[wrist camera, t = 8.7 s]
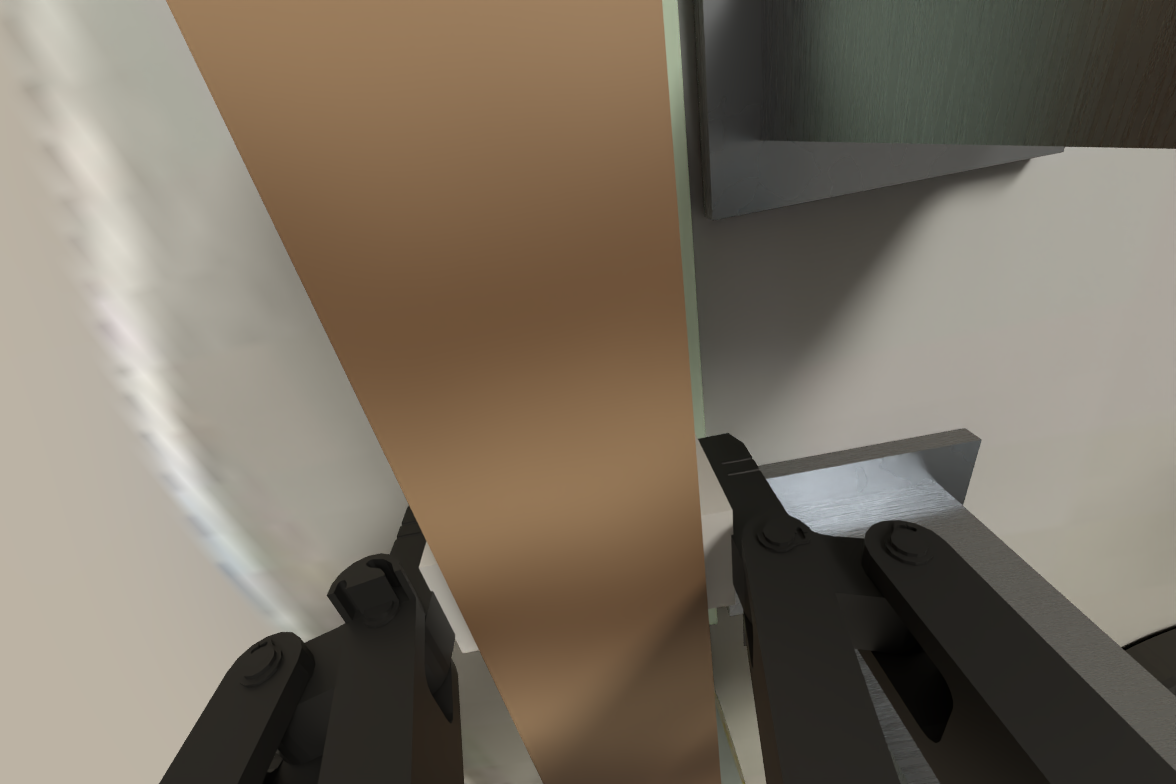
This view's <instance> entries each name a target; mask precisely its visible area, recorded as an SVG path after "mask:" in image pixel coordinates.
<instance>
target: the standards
mask: <svg viewBox="0 0 1176 784" xmlns="http://www.w3.org/2000/svg"><path fill="white" fill-rule="evenodd" d="M693 1H694V20H695V40H696V59H697V79H698V98H699V118H700V137H701V157H702V176H703V196H704V215H705V217H707V218H709V219H711V220H718V219H723V218H728V217H733V216H738V215H743V214H748V213H753V212H758V211H764V210H769V209H774V208H779V207H784V206H789V205H794V204H799V203H805V202H810V201H815V200H820V199H825V198H830V197H835V196H840V195H846V194H851V193H856V192H861V191H866V190H871V189H876V188H881V187H887V186H892V185H897V184H902V183H907V182H912V181H917V180H922V179H928V178H933V177H938V176H943V175H948V174H953V173H958V172H963V171H969V170H974V169H979V168H984V167H989V166H994V165H999V164H1004V163H1009V162H1015V161H1020V160H1025V159H1030V158H1035V157H1040V156H1045V155H1050V154H1056V153H1061V152H1063V151H1064V148H1065V147H1115V148H1167V149H1176V0H693ZM980 443H981V439H980V438H978V437H977V436H976V435H974V434H973V433H971V432H970V431H968V430H967V429H966V428H965V429H959V430H954V431H948V432H943V433H937V434H932V435H926V436H921V437H916V438H910V439H905V440H899V441H894V442H888V443H883V444H877V445H872V446H866V447H861V448H855V449H850V450H845V451H839V452H834V453H828V454H823V455H817V456H812V457H806V458H801V459H795V460H790V461H784V462H779V463H774V464H768V465H763V466H758V467H759V471H761V472H762V474H763V475H764V477H765V478H766V480H767V482H768V483H769V485H770V486H771V488H772V490H773V491H774V493H775V494H776V496H777V498H778V499H779V501H780V502H781V504H782V505H783V507H784V509H785V510H786V512H787V513H788V514H789V515H790V516H792V517H795V518H797V519H799V520H801V521H802V522H803V523H805V524H806V525H807V526H808V527H810V529H811V530H812V531H814V532H817V533H820V534H824V535H830V536H839V537H852V538H865V533H866V532H867V531H868V529H869V528H870V527H871V526H872V525H874V524H876V523H879V522H882V521H888V520H901V521H906V522H911V523H916V524H918V525H920V526H923V527H925V528H927V529H930V530H932V531H933V532H935V533H936V534H937V535H939V536H940V537H941V538H942V539H944V540H945V541H946V542H947V543H948V544H949V545H950V546H951V547H952V548H953V549H954V550H955V551H956V552H957V553H958V554H959V555H960V556H961V557H962V558H963V559H964V560H965V561H966V562H967V563H968V564H969V565H970V566H971V567H972V568H973V569H974V570H975V571H976V572H977V573H978V574H979V575H980V576H981V577H982V578H983V579H984V580H985V581H986V582H987V583H988V584H989V585H990V586H991V587H992V588H993V589H994V590H995V591H996V592H997V593H998V594H999V595H1000V596H1001V597H1002V598H1003V599H1004V600H1005V601H1006V602H1007V603H1008V604H1009V605H1010V606H1011V607H1012V608H1013V609H1014V610H1015V611H1016V612H1017V613H1018V614H1019V615H1020V616H1021V617H1022V618H1023V619H1024V620H1025V621H1026V622H1027V623H1028V624H1029V625H1030V626H1031V627H1032V628H1033V629H1034V630H1035V631H1036V632H1037V633H1038V634H1039V635H1040V636H1041V637H1042V638H1043V639H1044V640H1045V641H1046V642H1047V643H1048V644H1049V645H1050V646H1051V647H1052V648H1053V649H1054V650H1055V651H1056V652H1057V653H1058V654H1059V655H1060V656H1061V657H1062V658H1063V659H1064V660H1065V661H1066V662H1067V663H1068V664H1069V665H1070V666H1071V667H1072V668H1073V669H1074V670H1075V671H1076V672H1077V673H1078V674H1079V675H1080V676H1081V677H1082V678H1083V679H1084V680H1085V681H1086V682H1087V683H1088V684H1089V685H1090V686H1091V687H1092V688H1093V689H1094V690H1095V691H1096V692H1097V693H1098V694H1099V695H1100V696H1101V697H1102V698H1103V699H1104V700H1105V701H1106V702H1107V703H1108V704H1109V705H1110V706H1111V707H1112V708H1113V709H1114V710H1115V711H1116V712H1117V713H1118V714H1119V715H1120V716H1121V717H1122V718H1123V719H1124V720H1125V721H1126V722H1127V723H1128V724H1129V725H1130V726H1131V727H1132V728H1133V729H1134V730H1135V731H1136V732H1137V733H1138V734H1139V735H1140V736H1141V737H1142V738H1143V739H1144V740H1145V741H1146V742H1147V743H1148V744H1149V745H1150V746H1151V747H1152V748H1153V749H1154V750H1155V751H1156V752H1157V753H1158V754H1159V755H1160V756H1161V757H1162V758H1163V759H1164V760H1165V761H1166V762H1167V763H1168V764H1169V765H1170V766H1171V767H1172V768H1173V769H1174V770H1175V771H1176V696H1175V695H1174V694H1173V693H1171V692H1170V691H1169V690H1168V689H1167V688H1166V687H1165V686H1164V685H1162V684H1161V683H1160V682H1159V681H1158V680H1157V679H1156V678H1155V677H1154V676H1152V675H1151V674H1150V673H1149V672H1148V671H1147V670H1146V669H1145V668H1143V667H1142V666H1141V665H1140V664H1139V663H1138V662H1137V661H1136V660H1135V659H1133V658H1132V657H1131V656H1130V655H1129V654H1128V653H1127V652H1126V651H1124V650H1123V649H1122V648H1121V647H1120V646H1119V645H1118V644H1117V643H1116V642H1114V641H1113V640H1112V639H1111V638H1110V637H1109V636H1108V635H1107V634H1105V633H1104V632H1103V631H1102V630H1101V629H1100V628H1099V627H1098V626H1097V625H1095V624H1094V623H1093V622H1092V621H1091V620H1090V619H1089V618H1088V617H1087V616H1085V615H1084V614H1083V613H1082V612H1081V611H1080V610H1079V609H1078V608H1076V607H1075V606H1074V605H1073V604H1072V603H1071V602H1070V601H1069V600H1068V599H1066V598H1065V597H1064V596H1063V595H1062V594H1061V593H1060V592H1059V591H1057V590H1056V589H1055V588H1054V587H1053V586H1052V585H1051V584H1050V583H1049V582H1047V581H1046V580H1045V579H1044V578H1043V577H1042V576H1041V575H1040V574H1038V573H1037V572H1036V571H1035V570H1034V569H1033V568H1032V567H1031V566H1030V565H1028V564H1027V563H1026V562H1025V561H1024V560H1023V559H1022V558H1021V557H1019V556H1018V555H1017V554H1016V553H1015V552H1014V551H1013V550H1012V549H1011V548H1009V547H1008V546H1007V545H1006V544H1005V543H1004V542H1003V541H1002V540H1000V539H999V538H998V537H997V536H996V535H995V534H994V533H993V532H992V531H990V530H989V529H988V528H987V527H986V526H985V525H984V524H983V523H982V522H980V521H979V520H978V519H977V518H976V517H975V516H974V515H973V514H971V513H970V512H969V511H968V510H967V509H966V508H965V507H964V506H963V503H964V500H965V496H966V493H967V489H968V486H969V482H970V479H971V475H972V472H973V468H974V465H975V461H976V457H977V454H978V450H979V447H980ZM726 607H727V610H728V613H729V615H730V616H734V615H740V614H743V608H742V605H741V603H740V600H739V598H738V595H737V593H736V591H735V605H729V606H726ZM854 650H855V653H856V655H857V658H858V661H859V664H860V667H861V670H862V673H863V676H864V679H865V682H866V685H867V687H868V690H869V693H870V696H871V699H872V702H873V705H874V708H875V711H876V714H877V717H878V719H879V722H880V725H881V728H882V731H883V734H884V737H885V740H886V743H887V746H888V749H889V751H890V754H891V757H892V760H893V763H894V766H895V769H896V772H897V775H898V778H899V781H900V783H901V784H940V782H939V781H938V779H937V777H936V776H935V774H934V773H933V771H932V769H931V768H930V766H929V764H928V763H927V761H926V760H925V758H924V756H923V755H922V753H921V751H920V750H919V748H918V747H917V745H916V743H915V742H914V740H913V739H912V737H911V735H910V734H909V732H908V730H907V729H906V727H905V726H904V724H903V722H902V721H901V719H900V718H899V716H898V714H897V713H896V711H895V709H894V708H893V706H892V705H891V703H890V701H889V700H888V698H887V696H886V695H885V693H884V692H883V690H882V688H881V687H880V685H879V684H878V682H877V680H876V679H875V677H874V675H873V674H872V672H871V671H870V669H869V667H868V666H867V664H866V662H865V661H864V659H863V658H862V656H861V654H860V653H859V651H858V650H857V649H856V648H854Z"/></svg>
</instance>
